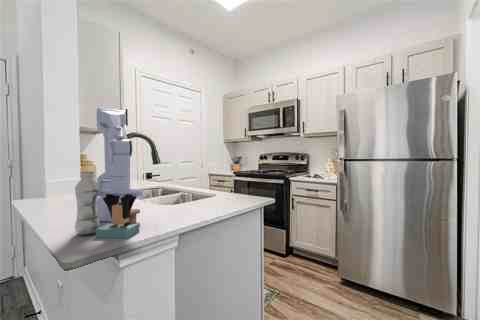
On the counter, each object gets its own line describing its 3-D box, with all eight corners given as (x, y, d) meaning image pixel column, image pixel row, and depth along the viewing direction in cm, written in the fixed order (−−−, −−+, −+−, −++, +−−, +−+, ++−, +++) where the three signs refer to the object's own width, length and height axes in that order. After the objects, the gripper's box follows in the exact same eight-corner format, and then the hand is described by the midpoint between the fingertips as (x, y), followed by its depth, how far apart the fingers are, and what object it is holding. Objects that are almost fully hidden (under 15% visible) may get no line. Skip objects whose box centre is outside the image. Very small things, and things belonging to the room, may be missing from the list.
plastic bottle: (88, 238, 67) (88, 172, 67) (69, 236, 69) (69, 172, 68) (104, 231, 74) (104, 171, 74) (87, 229, 75) (87, 171, 75)
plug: (111, 224, 71) (111, 203, 71) (119, 221, 74) (119, 200, 74) (122, 224, 70) (122, 203, 70) (128, 221, 74) (128, 201, 74)
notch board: (95, 237, 68) (95, 229, 68) (111, 229, 75) (111, 222, 75) (126, 238, 67) (126, 230, 67) (138, 231, 74) (138, 223, 74)
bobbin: (115, 229, 75) (115, 212, 75) (127, 223, 82) (127, 208, 82) (133, 230, 75) (133, 213, 75) (143, 224, 81) (143, 209, 81)
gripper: (90, 176, 69) (90, 220, 69) (134, 177, 67) (134, 222, 67) (106, 175, 76) (106, 214, 76) (146, 175, 74) (146, 216, 74)
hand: (120, 217), depth 72 cm, fingers closed on plug, 3 cm apart
